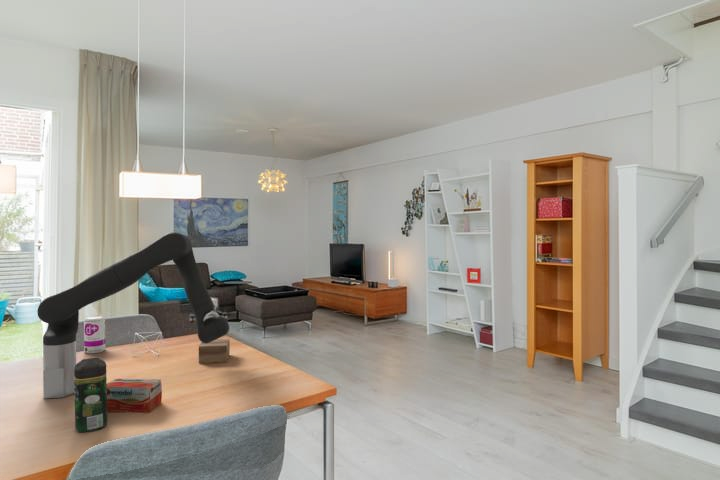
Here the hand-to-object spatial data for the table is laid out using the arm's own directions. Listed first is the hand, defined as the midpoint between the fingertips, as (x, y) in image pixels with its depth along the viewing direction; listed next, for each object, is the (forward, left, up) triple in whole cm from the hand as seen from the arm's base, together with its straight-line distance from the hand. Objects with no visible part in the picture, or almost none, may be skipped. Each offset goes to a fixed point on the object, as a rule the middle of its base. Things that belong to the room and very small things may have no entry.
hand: (207, 313), depth 187 cm
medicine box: (-45, +16, -20) cm, 52 cm away
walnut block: (+4, -2, -20) cm, 21 cm away
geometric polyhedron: (+16, +28, -20) cm, 38 cm away
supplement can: (+24, +52, -20) cm, 61 cm away
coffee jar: (-57, +23, -20) cm, 64 cm away
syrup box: (-2, 0, -8) cm, 8 cm away
